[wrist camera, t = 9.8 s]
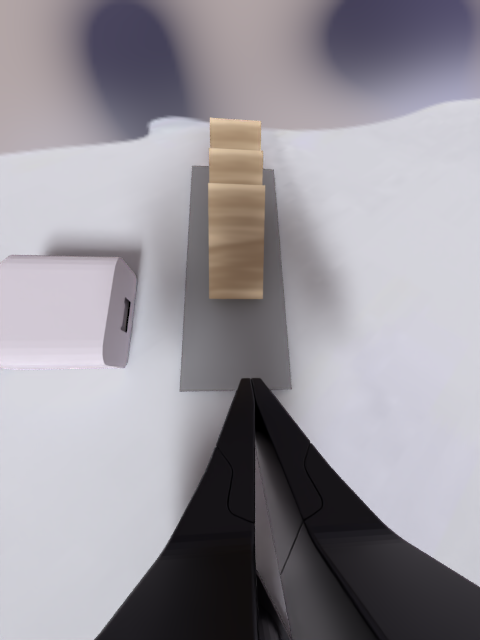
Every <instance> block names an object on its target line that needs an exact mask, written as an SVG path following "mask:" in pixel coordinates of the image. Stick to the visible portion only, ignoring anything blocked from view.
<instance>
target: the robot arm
mask: <svg viewBox="0 0 480 640" xmlns="http://www.w3.org/2000/svg"><path fill="white" fill-rule="evenodd" d="M255 448H256V453H257V458H258V463H259V468H260V474H261V479H262V484H263V489H264V495H265V500H266V505H267V510H268V515H269V521H270V526H271V531H272V536H273V541H274V547H275V552H276V557H277V562H278V567H279V573H280V575H281V577H280V578H281V583H282V588H283V594H284V599H285V604H286V609H287V614H288V620H289V625H290V630H291V635H292V639H291V637H290V635H289V633H288V631H287V629H286V627H285V625H284V623H283V621H282V619H281V617H280V615H279V613H278V611H277V609H276V607H275V605H274V603H273V601H272V599H271V597H270V595H269V593H268V591H267V589H266V587H265V585H264V583H263V581H262V579H261V577H260V575H259V573H258V571H257V570H256V562H255ZM94 640H480V587H479V586H477V585H476V584H474V583H473V582H471V581H469V580H468V579H466V578H465V577H463V576H461V575H460V574H458V573H456V572H455V571H453V570H452V569H450V568H448V567H447V566H445V565H444V564H442V563H440V562H439V561H437V560H436V559H434V558H432V557H431V556H429V555H428V554H426V553H424V552H423V551H421V550H419V549H418V548H416V547H415V546H413V545H411V544H410V543H408V542H407V541H405V540H404V539H402V538H401V537H400V536H398V535H397V534H396V533H394V532H393V531H392V530H391V529H390V528H388V527H387V526H386V525H385V524H384V523H383V522H382V521H381V520H380V519H379V518H378V517H377V516H376V515H375V514H374V513H373V512H372V511H371V510H370V508H369V507H368V506H367V505H366V504H365V503H364V502H363V501H362V500H361V499H360V498H359V497H358V496H357V495H356V494H355V492H354V491H353V490H352V489H351V488H350V487H349V486H348V485H347V484H346V483H345V482H344V481H343V480H342V479H341V477H340V476H339V475H338V474H337V473H336V472H335V471H334V470H333V469H332V468H331V466H330V465H329V464H328V463H327V462H326V460H325V459H324V458H323V457H322V456H321V454H320V453H319V452H318V451H317V449H316V448H315V447H314V445H313V444H312V443H310V440H309V439H308V438H307V437H306V435H305V434H304V433H303V431H302V430H301V429H300V428H299V426H298V425H297V424H296V422H295V421H294V420H293V419H292V417H291V416H290V415H289V413H288V412H287V411H286V410H285V408H284V407H283V406H282V405H281V403H280V402H279V401H278V399H277V398H276V397H275V396H274V394H273V393H272V392H271V390H270V389H269V388H268V387H267V385H266V384H265V383H264V381H263V380H262V379H261V378H251V379H250V378H241V380H240V383H239V385H238V388H237V390H236V393H235V396H234V398H233V401H232V404H231V406H230V409H229V412H228V414H227V417H226V419H225V422H224V425H223V427H222V430H221V433H220V435H219V438H218V441H217V443H216V447H215V448H214V451H213V453H212V456H211V458H210V461H209V463H208V466H207V468H206V470H205V473H204V475H203V477H202V479H201V481H200V483H199V485H198V487H197V489H196V491H195V493H194V495H193V497H192V498H191V500H190V502H189V504H188V506H187V508H186V510H185V512H184V514H183V516H182V518H181V519H180V521H179V523H178V525H177V527H176V529H175V531H174V532H173V534H172V536H171V538H170V540H169V541H168V543H167V545H166V546H165V548H164V549H163V551H162V553H161V554H160V556H159V557H158V558H157V560H156V561H155V562H154V564H153V565H152V566H151V568H150V569H149V570H148V571H147V573H146V574H145V575H144V577H143V578H142V579H141V581H140V582H139V583H138V584H137V586H136V587H135V588H134V590H133V591H132V592H131V593H130V595H129V596H128V597H127V599H126V600H125V601H124V603H123V604H122V605H121V606H120V608H119V609H118V610H117V612H116V613H115V614H114V616H113V617H112V618H111V619H110V621H109V622H108V623H107V625H106V626H105V627H104V629H103V630H102V631H101V632H100V634H99V635H98V636H97V637H96V638H95V639H94Z"/></svg>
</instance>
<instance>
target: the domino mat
mask: <svg viewBox="0 0 480 640" xmlns="http://www.w3.org/2000/svg"><path fill="white" fill-rule="evenodd" d="M208 183H209V167H208V166H192V178H191V196H190V214H189V232H188V250H187V268H186V286H185V304H184V322H183V340H182V358H181V376H180V392H185V391H231V390H237V388H238V385H239V383H240V380H241V378H250V379H251V378H261V379H262V380H263V381H264V383H265V384H266V385H267V387H268V388H269V389H270V390H276V389H292V387H291V375H290V362H289V350H288V338H287V326H286V313H285V301H284V289H283V277H282V265H281V252H280V240H279V228H278V216H277V204H276V191H275V179H274V170H270V169H263V178H262V185H265V220H264V265H263V299H209V215H208Z"/></svg>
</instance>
